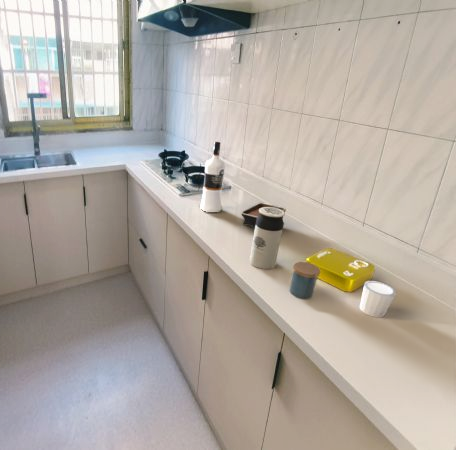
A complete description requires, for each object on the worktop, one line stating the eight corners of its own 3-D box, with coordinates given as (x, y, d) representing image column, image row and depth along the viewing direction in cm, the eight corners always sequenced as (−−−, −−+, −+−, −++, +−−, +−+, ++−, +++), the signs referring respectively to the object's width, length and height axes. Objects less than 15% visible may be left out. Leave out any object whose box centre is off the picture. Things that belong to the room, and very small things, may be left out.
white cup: (352, 309, 88) (360, 286, 85) (362, 299, 92) (369, 277, 89) (382, 322, 83) (391, 299, 80) (391, 311, 88) (399, 289, 85)
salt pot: (309, 287, 97) (315, 262, 94) (316, 301, 91) (323, 275, 88) (285, 285, 97) (291, 260, 94) (291, 298, 91) (297, 273, 88)
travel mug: (264, 255, 113) (273, 205, 106) (280, 267, 107) (291, 214, 99) (244, 259, 110) (252, 208, 103) (260, 271, 104) (270, 217, 96)
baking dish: (234, 230, 136) (236, 208, 131) (259, 213, 146) (262, 193, 141) (265, 245, 127) (269, 223, 122) (290, 226, 137) (294, 205, 132)
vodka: (210, 204, 157) (217, 139, 145) (225, 211, 150) (233, 142, 138) (195, 208, 152) (201, 140, 140) (210, 215, 145) (217, 144, 133)
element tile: (326, 257, 113) (329, 245, 111) (373, 278, 102) (378, 264, 100) (301, 270, 105) (304, 257, 103) (349, 294, 94) (354, 279, 92)
